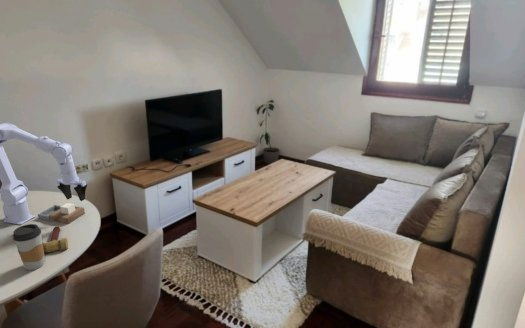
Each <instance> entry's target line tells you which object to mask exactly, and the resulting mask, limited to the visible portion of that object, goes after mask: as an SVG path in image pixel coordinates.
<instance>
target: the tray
mask: <svg viewBox="0 0 525 328" xmlns="http://www.w3.org/2000/svg"><path fill="white" fill-rule="evenodd" d="M61 206H62V205H60V204H59V205H56V204H54V205H53V206H51V207H49V208H48V209H45V210H43V211H41V212H40V213H38V214H37V217H38V220H42V219H44V220H43V221H48V220H49V221H48V222H51V221H50V217H49V215H50V214H52V213H53V212H55V211H57V210H59V209H60V207H61Z"/></svg>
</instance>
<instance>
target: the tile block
mask: <svg viewBox="0 0 525 328" xmlns="http://www.w3.org/2000/svg"><path fill="white" fill-rule="evenodd" d="M60 206H61V207H60V208H61V213H64V214H70V213H72V212H73V211H75V207H76V206H75V203H69V202H66V203H64V204H63V205H60Z"/></svg>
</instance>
